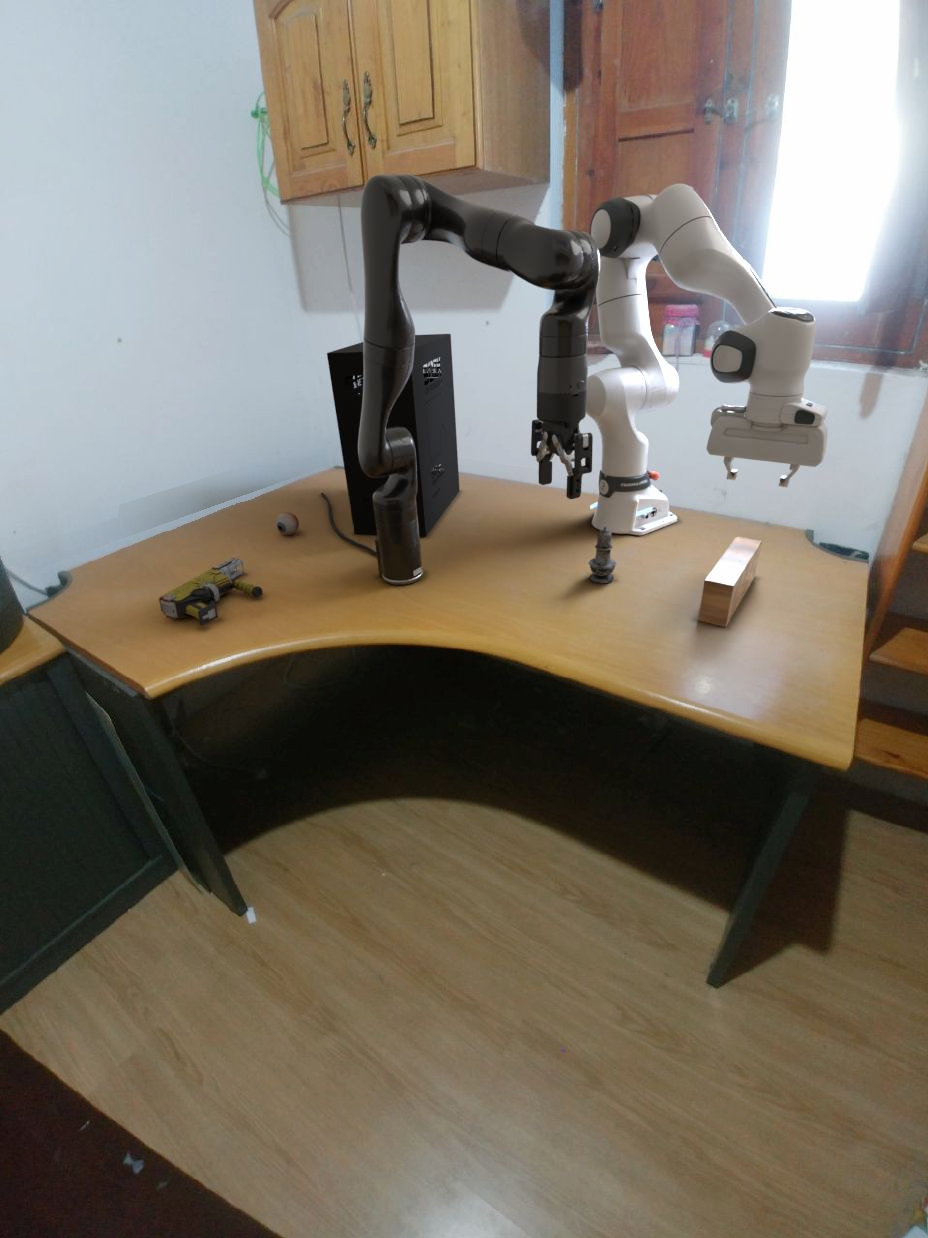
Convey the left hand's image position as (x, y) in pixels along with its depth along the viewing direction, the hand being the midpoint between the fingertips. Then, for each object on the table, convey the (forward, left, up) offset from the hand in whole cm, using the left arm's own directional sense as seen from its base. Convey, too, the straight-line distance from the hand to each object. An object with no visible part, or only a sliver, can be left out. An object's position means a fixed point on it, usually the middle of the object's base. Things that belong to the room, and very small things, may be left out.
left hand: (558, 490), depth 99 cm
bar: (+23, +30, -28) cm, 47 cm away
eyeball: (-87, +10, -28) cm, 92 cm away
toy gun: (-69, -23, -28) cm, 78 cm away
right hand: (+23, +38, -6) cm, 45 cm away
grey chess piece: (-2, +26, -28) cm, 38 cm away
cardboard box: (-68, +40, -28) cm, 84 cm away
